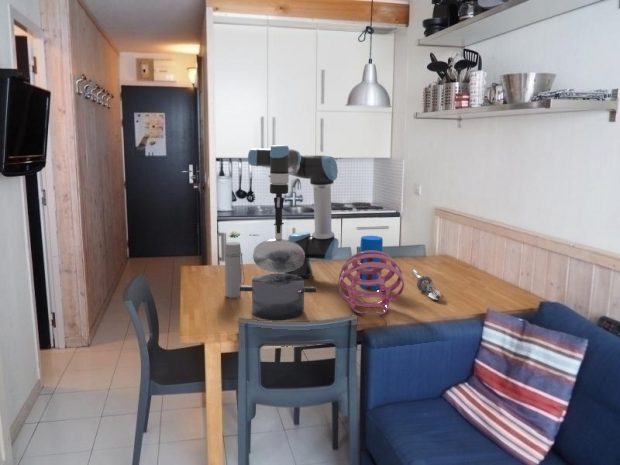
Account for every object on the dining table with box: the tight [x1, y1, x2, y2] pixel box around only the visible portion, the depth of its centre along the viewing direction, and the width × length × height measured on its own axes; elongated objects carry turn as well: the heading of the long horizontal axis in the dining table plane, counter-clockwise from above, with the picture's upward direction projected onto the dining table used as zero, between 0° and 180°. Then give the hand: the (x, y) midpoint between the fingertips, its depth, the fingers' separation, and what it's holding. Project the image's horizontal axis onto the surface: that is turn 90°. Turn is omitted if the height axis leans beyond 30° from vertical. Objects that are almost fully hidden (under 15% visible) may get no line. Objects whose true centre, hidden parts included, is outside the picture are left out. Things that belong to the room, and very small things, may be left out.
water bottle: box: [224, 241, 246, 299], centre depth 237 cm, size 9×8×25 cm
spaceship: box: [411, 269, 441, 301], centre depth 252 cm, size 8×35×8 cm
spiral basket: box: [337, 250, 405, 316], centre depth 220 cm, size 28×28×27 cm
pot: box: [240, 272, 317, 322], centre depth 219 cm, size 22×32×14 cm
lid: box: [252, 238, 305, 273], centre depth 221 cm, size 22×22×4 cm
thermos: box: [358, 235, 384, 291], centre depth 256 cm, size 11×11×25 cm
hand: (278, 240), depth 214 cm, fingers closed
